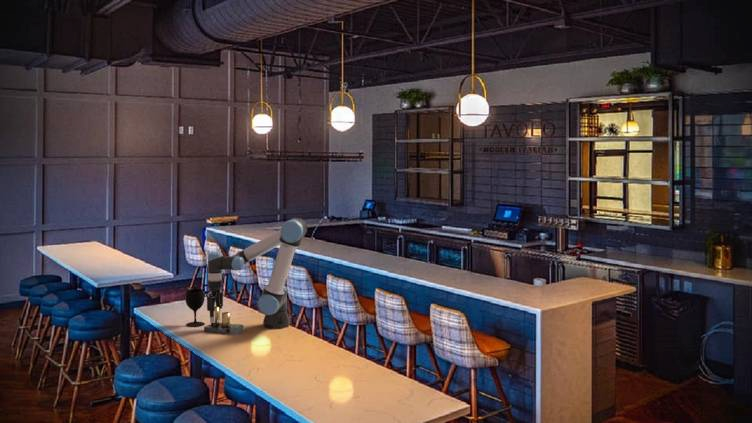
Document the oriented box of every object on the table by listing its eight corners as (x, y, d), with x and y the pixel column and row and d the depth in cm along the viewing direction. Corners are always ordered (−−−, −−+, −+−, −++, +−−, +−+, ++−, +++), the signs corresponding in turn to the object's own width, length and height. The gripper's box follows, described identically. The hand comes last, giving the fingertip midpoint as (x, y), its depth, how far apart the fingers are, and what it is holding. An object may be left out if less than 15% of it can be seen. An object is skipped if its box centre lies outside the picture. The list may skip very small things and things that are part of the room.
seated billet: (225, 329, 354) (225, 311, 353) (231, 330, 352) (231, 312, 351) (219, 331, 350) (220, 312, 349) (226, 332, 348) (226, 313, 347)
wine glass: (201, 327, 357) (201, 292, 355) (183, 327, 357) (182, 292, 355) (206, 322, 367) (206, 288, 366) (189, 322, 368) (188, 288, 366)
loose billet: (214, 323, 356) (213, 305, 355) (220, 324, 354) (220, 306, 353) (209, 325, 352) (209, 307, 351) (216, 326, 350) (216, 308, 349)
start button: (235, 326, 349) (235, 323, 349) (240, 327, 348) (240, 323, 348) (232, 328, 346) (232, 324, 346) (237, 328, 345) (237, 325, 345)
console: (235, 330, 351) (235, 323, 351) (243, 331, 349) (243, 324, 349) (229, 333, 345) (229, 326, 345) (237, 334, 344) (237, 327, 343)
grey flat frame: (215, 326, 359) (215, 322, 359) (236, 329, 355) (236, 324, 354) (203, 331, 349) (203, 326, 349) (225, 334, 344) (225, 329, 344)
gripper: (218, 276, 360) (218, 316, 362) (199, 282, 344) (200, 324, 346) (229, 277, 357) (229, 318, 360) (211, 283, 341) (211, 326, 343)
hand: (215, 321), depth 353 cm, fingers closed on loose billet, 4 cm apart
